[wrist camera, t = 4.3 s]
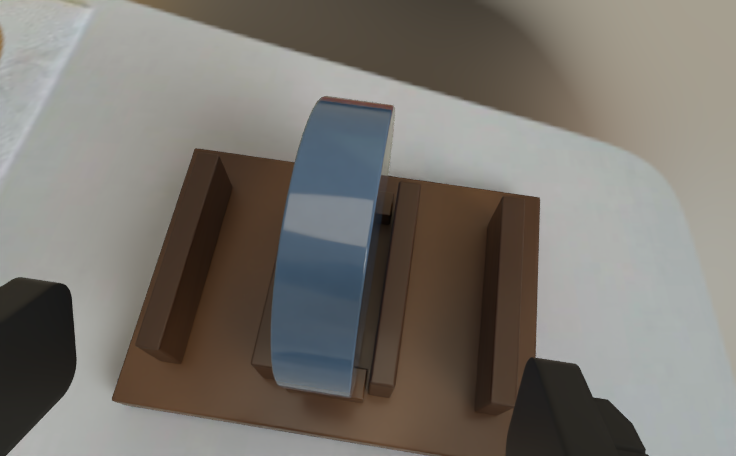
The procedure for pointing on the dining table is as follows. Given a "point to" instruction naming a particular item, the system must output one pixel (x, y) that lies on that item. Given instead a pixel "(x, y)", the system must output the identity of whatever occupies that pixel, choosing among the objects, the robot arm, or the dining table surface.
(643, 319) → the dining table surface
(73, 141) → the dining table surface
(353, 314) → the disc
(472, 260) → the rack
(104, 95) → the dining table surface
